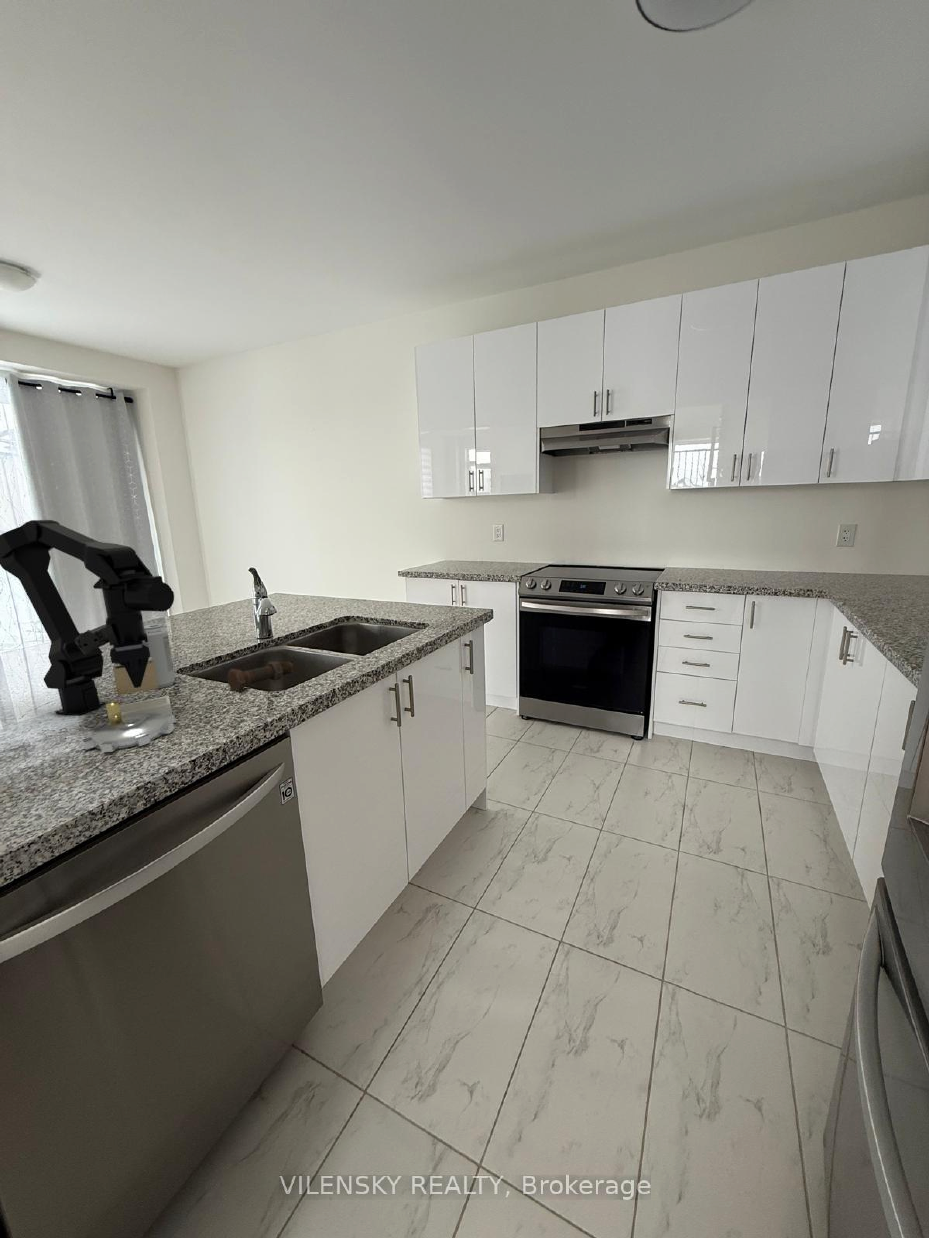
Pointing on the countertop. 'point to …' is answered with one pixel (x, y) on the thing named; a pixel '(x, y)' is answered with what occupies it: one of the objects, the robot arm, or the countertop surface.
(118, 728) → the sprocket
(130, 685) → the link
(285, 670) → the bolt
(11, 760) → the countertop surface
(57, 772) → the countertop surface
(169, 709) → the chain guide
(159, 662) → the energy drink can
